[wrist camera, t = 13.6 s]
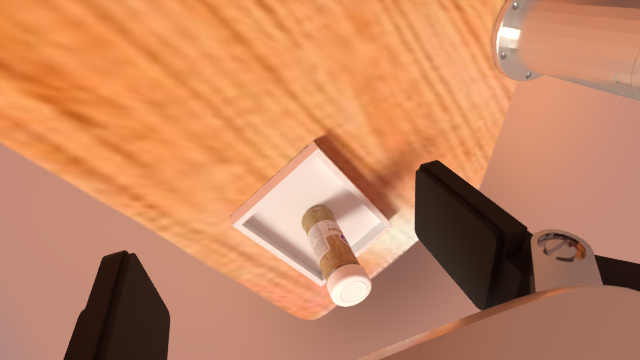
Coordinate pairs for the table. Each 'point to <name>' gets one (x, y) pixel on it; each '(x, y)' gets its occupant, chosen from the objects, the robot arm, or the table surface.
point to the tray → (296, 199)
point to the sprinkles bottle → (335, 258)
